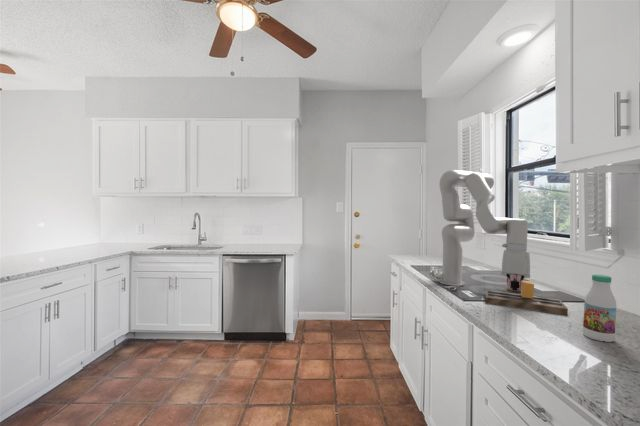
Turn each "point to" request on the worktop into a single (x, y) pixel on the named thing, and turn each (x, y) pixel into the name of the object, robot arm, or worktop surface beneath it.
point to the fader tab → (527, 289)
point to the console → (526, 302)
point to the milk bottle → (600, 310)
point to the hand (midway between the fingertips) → (514, 289)
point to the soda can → (510, 283)
